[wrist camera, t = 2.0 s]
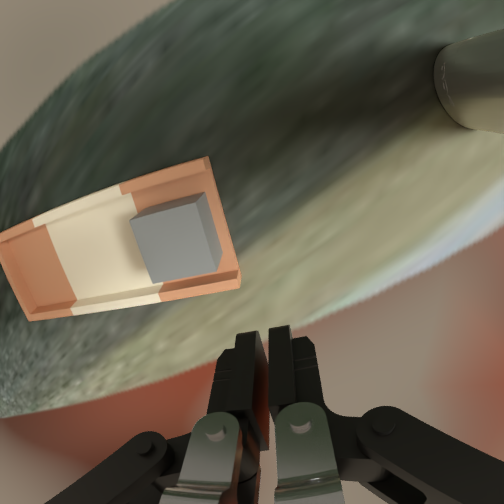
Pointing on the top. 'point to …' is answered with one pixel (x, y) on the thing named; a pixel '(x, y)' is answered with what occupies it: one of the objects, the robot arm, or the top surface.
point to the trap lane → (108, 248)
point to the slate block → (178, 238)
